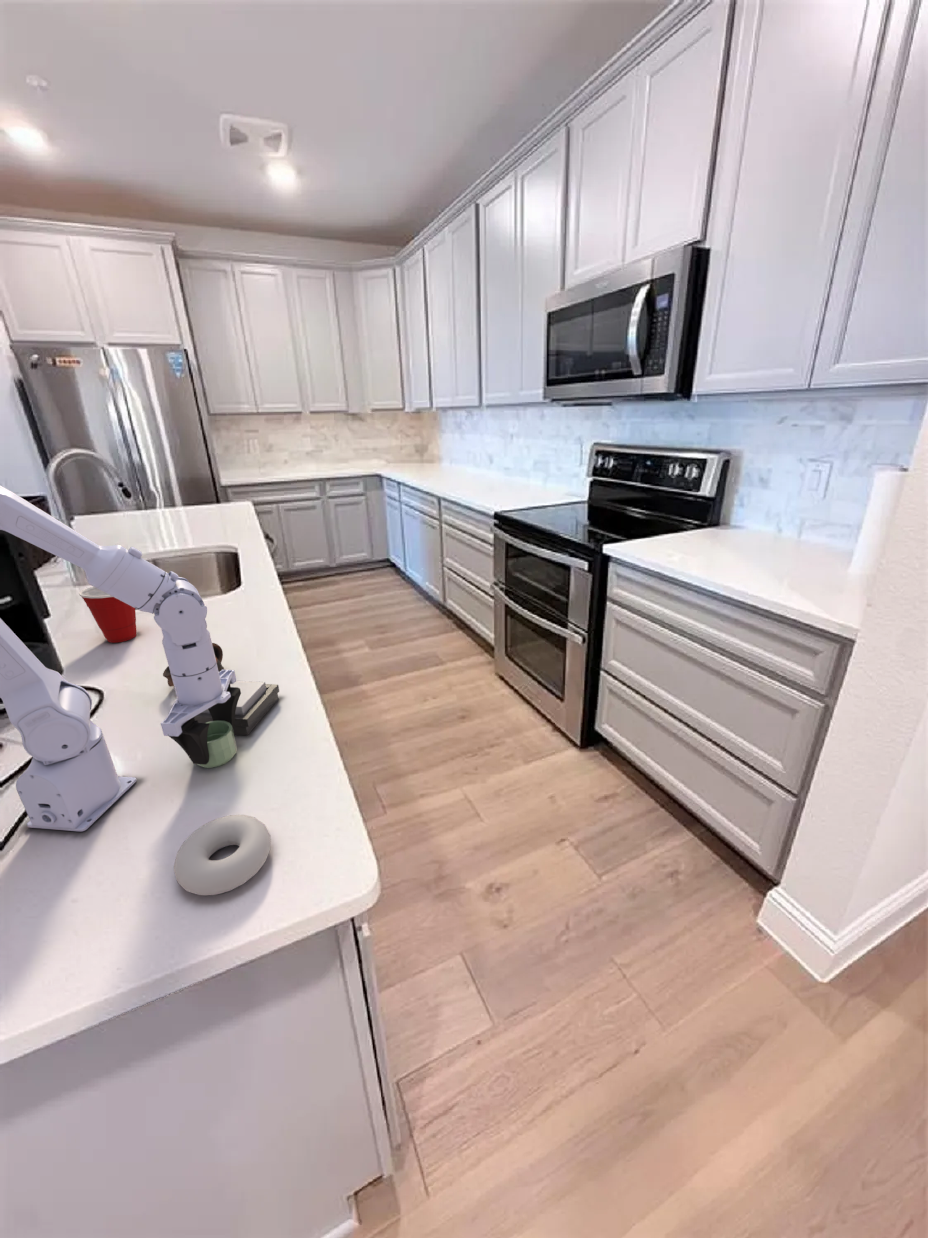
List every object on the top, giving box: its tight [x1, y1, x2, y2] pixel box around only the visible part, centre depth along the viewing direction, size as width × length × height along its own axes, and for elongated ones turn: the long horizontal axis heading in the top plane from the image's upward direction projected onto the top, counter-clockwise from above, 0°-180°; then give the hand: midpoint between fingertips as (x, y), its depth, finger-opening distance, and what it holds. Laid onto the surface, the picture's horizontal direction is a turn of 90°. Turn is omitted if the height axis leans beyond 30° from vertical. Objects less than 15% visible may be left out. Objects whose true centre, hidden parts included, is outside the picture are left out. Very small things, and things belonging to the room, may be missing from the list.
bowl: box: [196, 720, 238, 769], centre depth 75 cm, size 6×6×4 cm
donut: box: [173, 814, 271, 896], centre depth 57 cm, size 10×4×10 cm
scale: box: [194, 683, 280, 736], centre depth 85 cm, size 11×11×3 cm
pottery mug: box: [162, 642, 226, 687], centre depth 96 cm, size 12×9×8 cm
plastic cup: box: [78, 586, 137, 644], centre depth 114 cm, size 11×11×12 cm
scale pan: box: [201, 680, 267, 715], centre depth 85 cm, size 8×8×2 cm
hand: (214, 748), depth 75 cm, fingers open, 6 cm apart
